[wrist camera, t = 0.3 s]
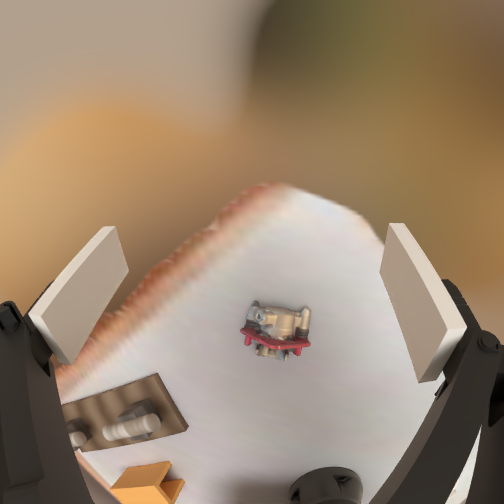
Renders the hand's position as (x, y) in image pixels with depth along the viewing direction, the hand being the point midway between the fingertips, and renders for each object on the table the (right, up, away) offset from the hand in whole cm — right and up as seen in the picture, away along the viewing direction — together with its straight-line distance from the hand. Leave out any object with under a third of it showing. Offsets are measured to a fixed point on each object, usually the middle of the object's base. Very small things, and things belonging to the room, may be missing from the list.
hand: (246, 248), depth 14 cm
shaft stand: (-28, -34, +36) cm, 57 cm away
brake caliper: (+4, -13, +35) cm, 37 cm away
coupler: (-21, -48, +35) cm, 63 cm away
